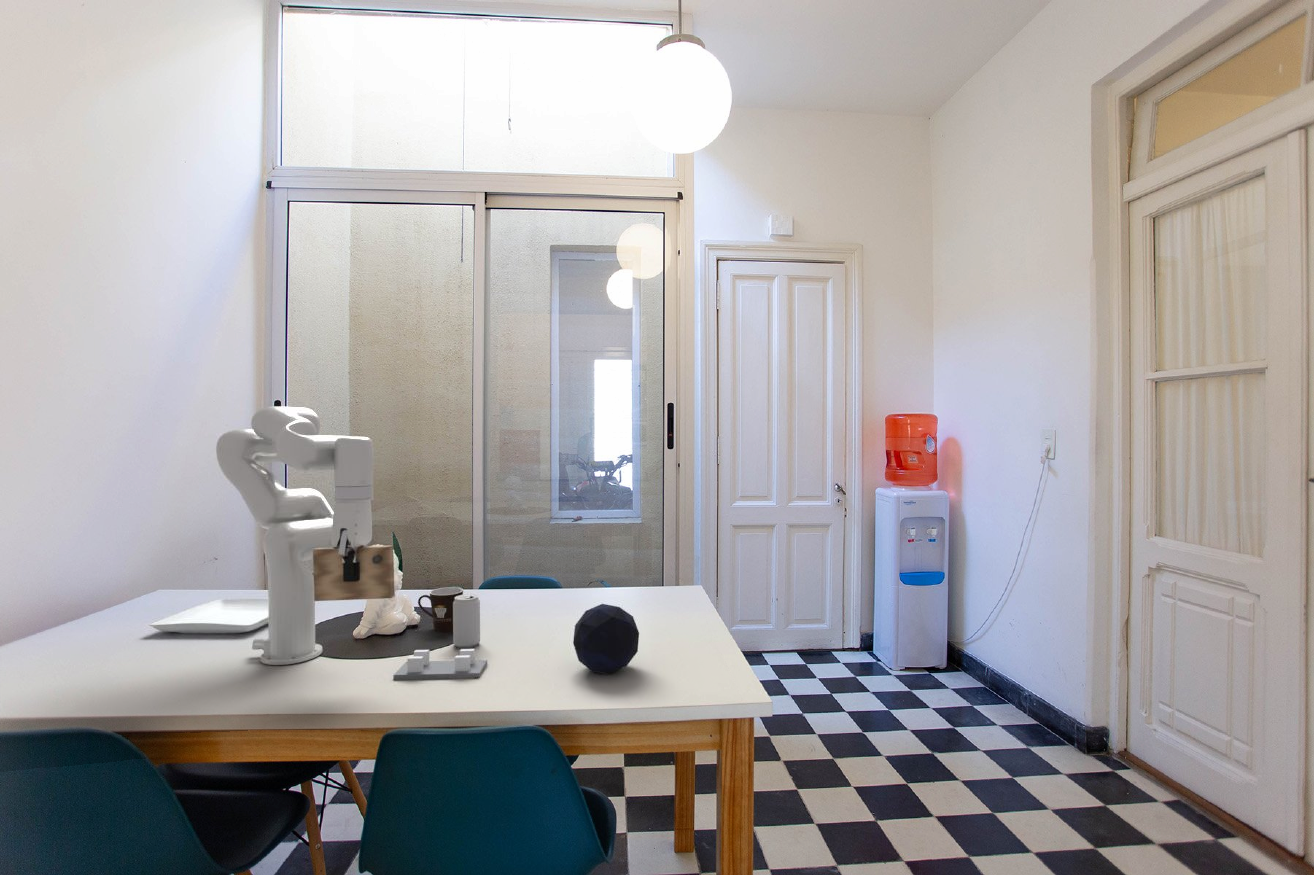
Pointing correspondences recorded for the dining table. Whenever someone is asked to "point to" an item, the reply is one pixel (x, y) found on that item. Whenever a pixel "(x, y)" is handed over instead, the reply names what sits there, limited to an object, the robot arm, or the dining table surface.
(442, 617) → the coffee mug
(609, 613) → the decorative orb
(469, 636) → the beverage can
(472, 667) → the hinge base
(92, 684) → the dining table surface
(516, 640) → the dining table surface
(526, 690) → the dining table surface
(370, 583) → the door panel
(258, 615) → the square plate
